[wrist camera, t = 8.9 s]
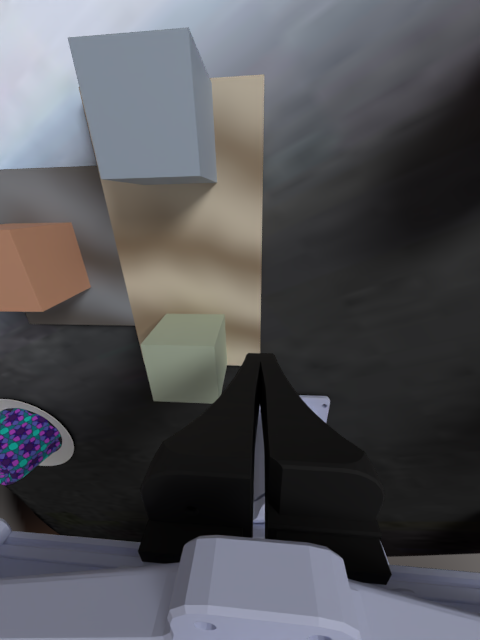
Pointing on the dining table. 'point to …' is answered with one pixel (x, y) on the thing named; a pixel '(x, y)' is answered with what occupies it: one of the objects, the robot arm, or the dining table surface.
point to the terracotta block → (39, 266)
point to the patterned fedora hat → (29, 441)
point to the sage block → (186, 358)
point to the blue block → (147, 106)
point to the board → (162, 231)
